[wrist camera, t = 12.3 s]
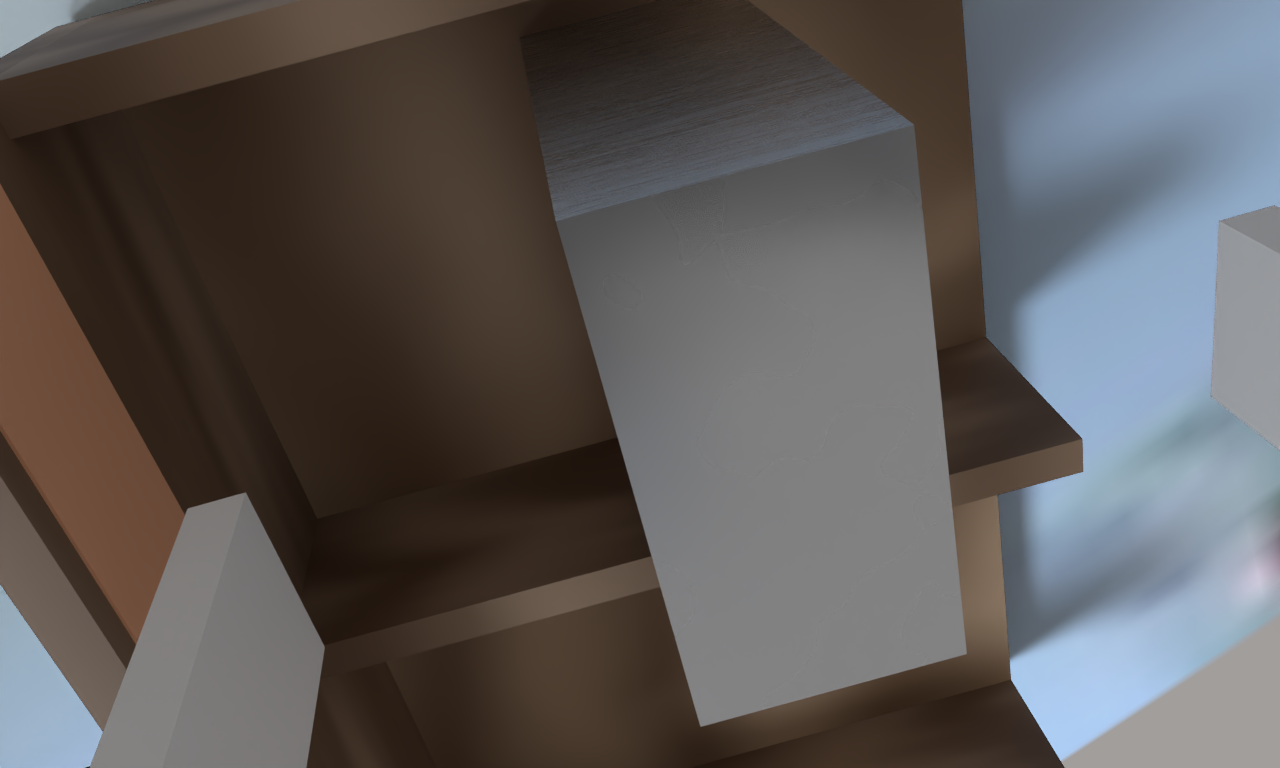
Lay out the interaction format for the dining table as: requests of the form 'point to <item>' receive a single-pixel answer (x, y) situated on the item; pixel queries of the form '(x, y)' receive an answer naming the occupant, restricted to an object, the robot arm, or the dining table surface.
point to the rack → (423, 382)
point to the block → (758, 342)
